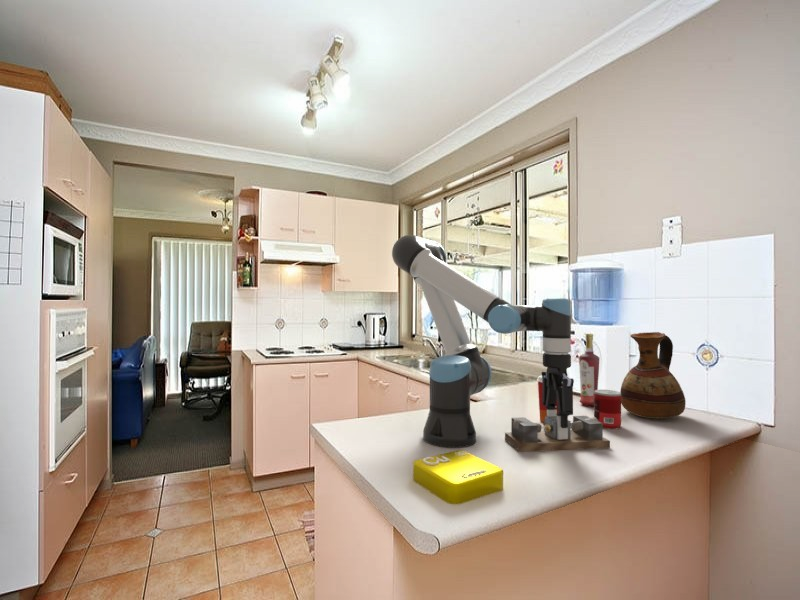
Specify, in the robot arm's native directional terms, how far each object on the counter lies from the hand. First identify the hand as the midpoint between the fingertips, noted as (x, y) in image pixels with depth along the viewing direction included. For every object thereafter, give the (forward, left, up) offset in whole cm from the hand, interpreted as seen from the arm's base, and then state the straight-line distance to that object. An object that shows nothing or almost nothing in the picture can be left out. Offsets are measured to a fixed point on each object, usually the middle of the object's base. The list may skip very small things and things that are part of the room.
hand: (557, 435), depth 116 cm
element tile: (-35, -22, -3) cm, 41 cm away
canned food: (+26, +15, -3) cm, 30 cm away
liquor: (+36, +41, -3) cm, 55 cm away
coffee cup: (+9, +21, -3) cm, 23 cm away
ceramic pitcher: (+50, +25, -3) cm, 56 cm away
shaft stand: (0, 0, -2) cm, 2 cm away
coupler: (0, 0, 0) cm, 0 cm away
